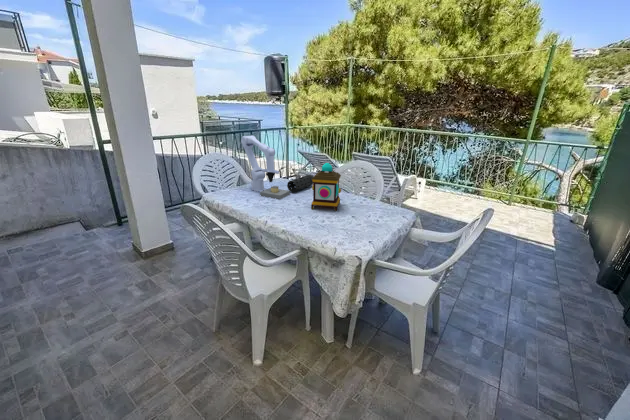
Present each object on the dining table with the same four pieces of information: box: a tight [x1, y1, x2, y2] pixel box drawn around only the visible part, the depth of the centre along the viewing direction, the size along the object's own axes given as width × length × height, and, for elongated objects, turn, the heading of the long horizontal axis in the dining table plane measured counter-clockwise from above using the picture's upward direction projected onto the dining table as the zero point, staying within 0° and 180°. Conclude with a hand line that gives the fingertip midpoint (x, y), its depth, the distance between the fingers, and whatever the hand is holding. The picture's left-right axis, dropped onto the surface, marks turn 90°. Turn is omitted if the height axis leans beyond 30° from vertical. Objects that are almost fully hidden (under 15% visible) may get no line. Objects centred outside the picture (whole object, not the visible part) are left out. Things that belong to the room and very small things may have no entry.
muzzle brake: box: [286, 174, 315, 194], centre depth 228 cm, size 10×28×10 cm, turn 147°
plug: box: [270, 185, 280, 193], centre depth 211 cm, size 4×4×7 cm
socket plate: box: [259, 187, 291, 200], centre depth 212 cm, size 18×14×3 cm
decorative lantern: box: [310, 162, 342, 212], centre depth 185 cm, size 20×20×30 cm
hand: (270, 181), depth 213 cm, fingers closed
